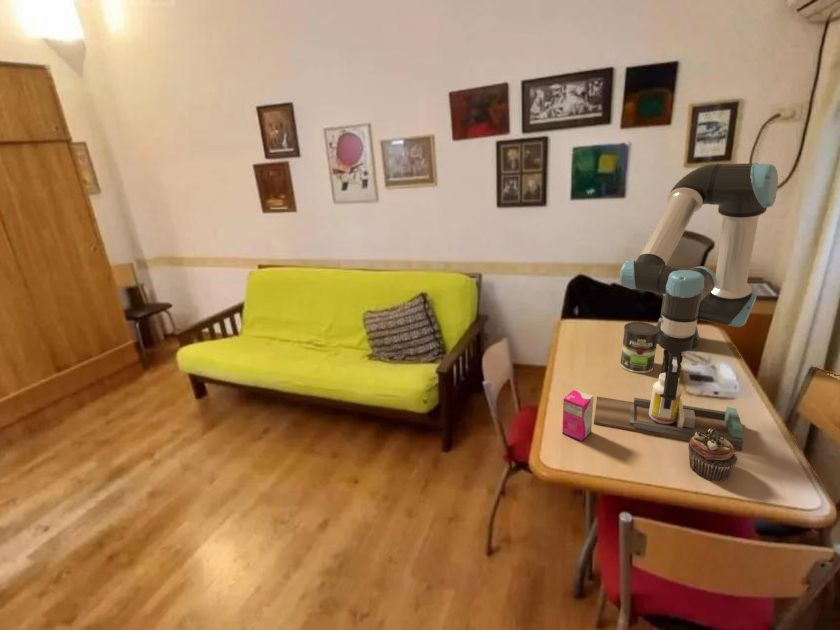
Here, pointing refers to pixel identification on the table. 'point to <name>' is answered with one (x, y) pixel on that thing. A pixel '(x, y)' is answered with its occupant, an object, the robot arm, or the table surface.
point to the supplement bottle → (656, 401)
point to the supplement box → (577, 415)
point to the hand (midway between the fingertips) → (663, 409)
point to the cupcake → (711, 455)
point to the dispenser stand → (639, 420)
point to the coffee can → (639, 347)
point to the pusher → (685, 417)
